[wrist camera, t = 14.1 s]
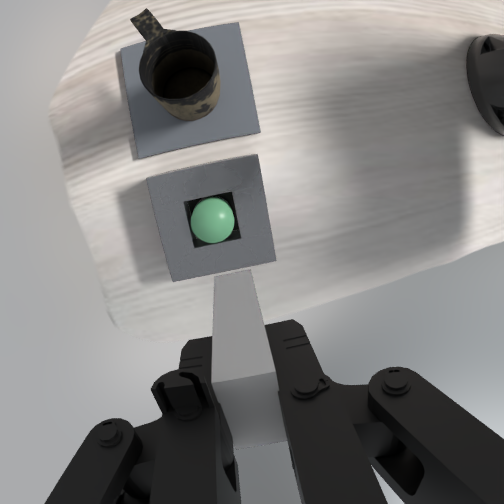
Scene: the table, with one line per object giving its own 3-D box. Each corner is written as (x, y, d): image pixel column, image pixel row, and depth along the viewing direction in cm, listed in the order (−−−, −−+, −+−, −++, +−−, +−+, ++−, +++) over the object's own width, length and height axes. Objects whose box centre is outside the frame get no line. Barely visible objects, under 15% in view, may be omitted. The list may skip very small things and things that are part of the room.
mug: (231, 101, 28) (240, 71, 17) (183, 133, 29) (163, 123, 17) (186, 41, 26) (171, -14, 14) (139, 73, 26) (99, 34, 15)
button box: (253, 154, 31) (257, 154, 27) (270, 249, 34) (276, 260, 31) (153, 175, 30) (146, 178, 27) (176, 269, 33) (172, 281, 30)
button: (228, 192, 30) (229, 196, 28) (236, 230, 32) (238, 238, 29) (189, 200, 30) (186, 205, 27) (198, 238, 31) (196, 246, 29)
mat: (238, 24, 26) (238, 22, 26) (259, 132, 30) (260, 132, 30) (122, 50, 26) (120, 48, 25) (140, 158, 30) (138, 158, 29)
